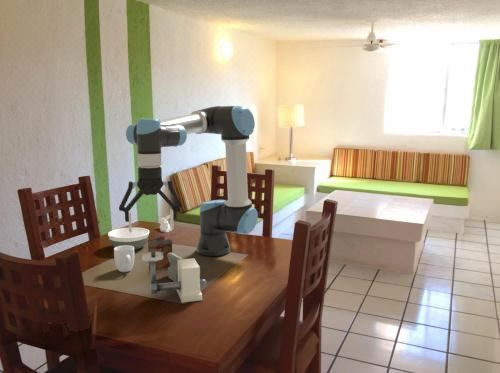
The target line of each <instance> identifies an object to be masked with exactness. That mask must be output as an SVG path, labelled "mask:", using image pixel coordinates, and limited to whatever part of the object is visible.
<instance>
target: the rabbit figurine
mask: <svg viewBox="0 0 500 373" xmlns="http://www.w3.org/2000/svg"><path fill="white" fill-rule="evenodd" d="M169 219H170V214H168V215H166V216H165V217H160V218H159V220H158V223H159V224H160V226H159V230H160V232H163V233H170V232H171V231H172V230H173V229H171V228H170V222H169Z"/></svg>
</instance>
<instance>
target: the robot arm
mask: <svg viewBox="0 0 500 373" xmlns="http://www.w3.org/2000/svg"><path fill="white" fill-rule="evenodd" d="M136 121H137V122H136V123H131V124H130V125H129V126H127V128H126V130H125V136H126V140H127V142H129V143H130V144H131V145H137V166H139V167H137V176H138V178H137V182H136V181H131V180H130V181H128V183H127V184H128V185H127V189H126V191H125V194H124V196H123V198H122V200H121V202H120V203H119V206H118V209H119V211H121V212H123V213H124V221H125V222H126V223H127V222H128V228H129V232H132V227H133V226H132V211H131V209H132V208H133V207H134V206H135V205H136V203H137V202H138V201H139V200H140V199H141V198H142V196H143V195H145V196H150V195H151V196H153V195H154V196H157V194H158V195H159V196H161V198H162V199H163V200H164V201H165V202H166V203H167V205H169V206H170V207H171V208H170V209H169V215H170V218H169V224H170V228H171V229H172V230H174V226H175V225H174V223H175V222H174V220H176V219H177V214H178V213H177V210H178V209H180V208H182V207H183V205H182V203H181V201H180V199H179V197H178V196H177V194H176V192H175V190H174V188H173V183H172V181H171V180H170V179H167V180H165V181H163V179H162V166H161V165H162V148H169V147H171V148H172V147H179V146H182V145H184V144H185V143H186V141H187V138H188V135H190V134H196V135H202V134H211V135H212V134H213V135H214V134H215V135H220V136H221V137H220V139H221V141H222V142H223V143H224V144H225V145H224V146H225V161H226V162H225V163H226V166H225V167H226V185H227V200H226V199H215V200H214V199H213V200H208V201H204V202H201V204H200V205H199V228H200V234H199V237H198V238H199V239H198V241H197V245H196V253H197V254H199V255H202V256H207V257H217V256H224V255H227V254H229V253H230V252H231V245H230V241H229V238H228V235H227V232H229V233H236V234H238V235H248V234H250V233H252V232H253V231H254V230H255V227H256V226H257V223H258V217H259V212H258V211H257V209H256V208H254V207H253V203H252V200H251V199H249V189H248V188H249V187H248V167H247V166H248V165H247V164H248V162H247V142H248V141H249V140H250V135H252V134H253V132H254V131H255V130H254V129H255V127H256V126H255V125H256V122H255V117H254V114H253V112H252V111H251V110H250V108H248V107H246V106H242V105H224V106H223V105H221V106H220V105H218V106H217V105H215V106H210V107H205V108H202V109H198V110H194V111H192V112H191V113H190V114H186V115H181V116H176V117H171V118H170V117H169V118H165V119H161V120H160V118H139V119H138V120H136ZM163 186H164V187H165V188H167V189H168V191H169V193H170V194H171V196H172V198H173V200H174V202H175V204H174V203H173V202H172V200H170V198H169V197H168V196H167V195H166V194H165V192H163V191H162V190H161V189H162V188H163ZM135 187H137V188H138V189H139V190H138V191H137V193H136V194H135V196H133V198H132V199H131V200H130V202H129V203H128V204H127V202H128V201H129V197H130V195H131V194H132V192H133V190H134V189H135ZM126 204H127V205H126Z"/></svg>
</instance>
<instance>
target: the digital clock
mask: <svg viewBox="0 0 500 373" xmlns="http://www.w3.org/2000/svg"><path fill="white" fill-rule="evenodd" d="M166 256H167V260H168V261H169V266H168V267H167V278H168V279H170V280H172V282H178V261H177V260H180V259H184V258H183V257H181V256H178V255H177V254H175V253H173V252H168V253H167V255H166Z"/></svg>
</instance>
